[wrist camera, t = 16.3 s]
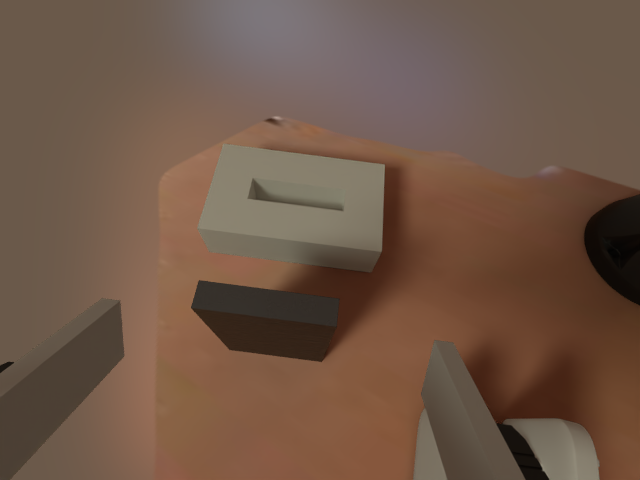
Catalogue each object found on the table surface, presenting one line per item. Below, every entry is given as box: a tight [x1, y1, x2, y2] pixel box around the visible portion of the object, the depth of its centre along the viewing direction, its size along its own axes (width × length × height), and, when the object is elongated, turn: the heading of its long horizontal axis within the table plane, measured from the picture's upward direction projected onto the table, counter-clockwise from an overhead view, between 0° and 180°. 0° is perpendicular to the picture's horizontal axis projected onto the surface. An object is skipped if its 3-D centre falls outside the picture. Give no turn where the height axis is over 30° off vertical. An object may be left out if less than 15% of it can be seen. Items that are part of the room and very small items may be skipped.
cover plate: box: [191, 280, 339, 362], centre depth 32 cm, size 10×2×16 cm, turn 83°
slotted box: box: [197, 144, 385, 273], centre depth 43 cm, size 20×12×6 cm, turn 83°
